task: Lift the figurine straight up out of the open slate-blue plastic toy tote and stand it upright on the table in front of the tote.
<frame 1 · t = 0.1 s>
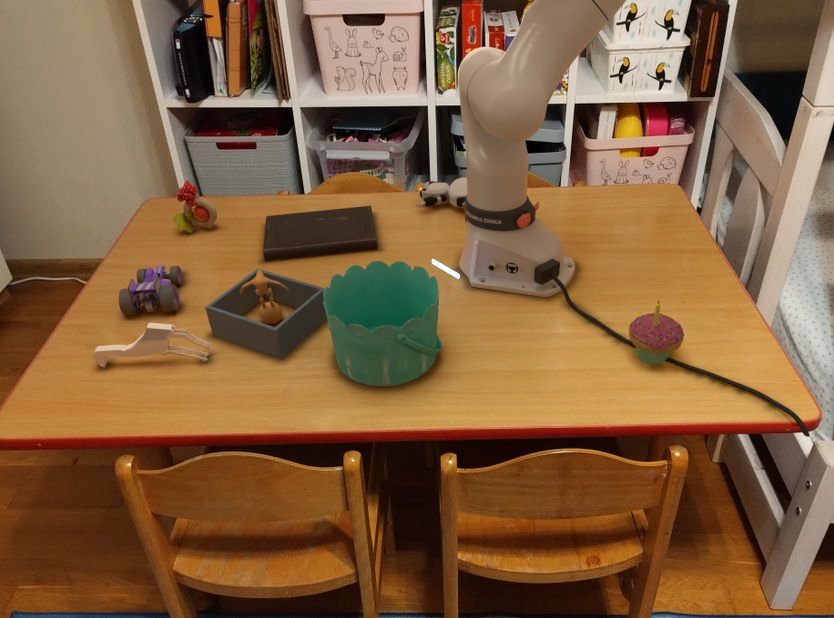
tote: (272, 325, 128), on the table
toy race car: (158, 296, 137), on the table
basket: (387, 355, 120), on the table
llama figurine: (156, 363, 121), on the table
figurine: (272, 326, 128), resting in tote
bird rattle: (200, 228, 158), on the table
cupcake: (651, 356, 117), on the table
robot toy: (452, 203, 163), on the table
hardcover book: (321, 238, 153), on the table
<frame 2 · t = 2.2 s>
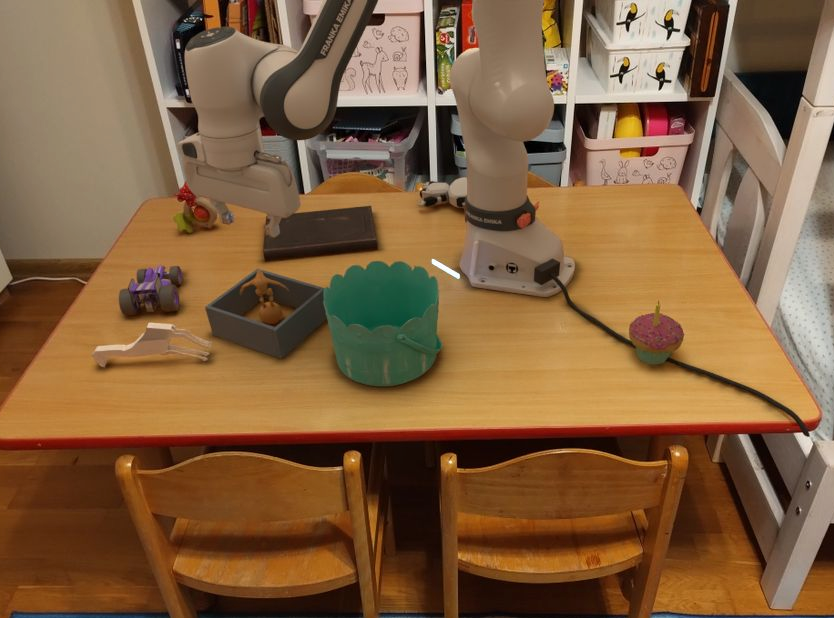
hand: (250, 228, 116), 19 cm above the table, tool pointing down, fingers open, 8 cm apart
nothing on the table moved.
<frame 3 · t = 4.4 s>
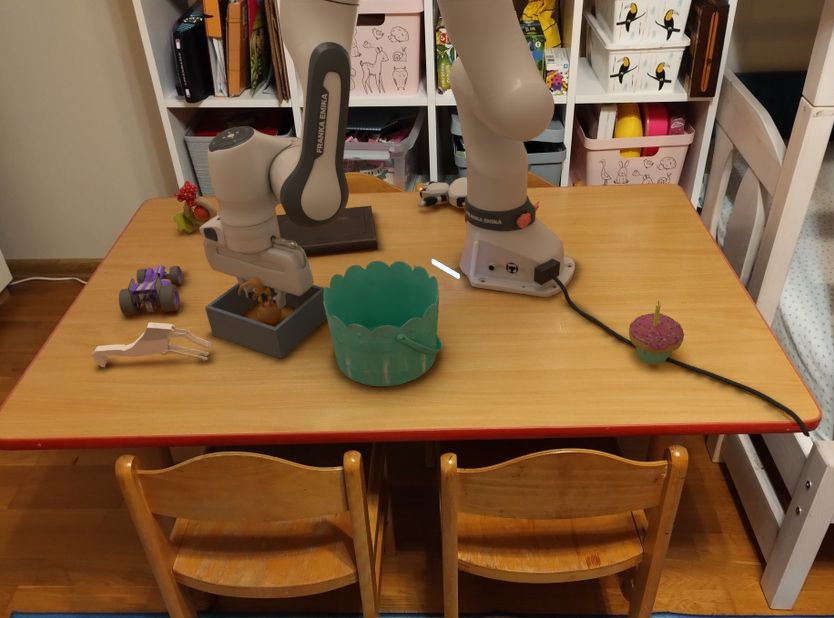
hand: (266, 301, 124), 5 cm above the table, tool pointing down, fingers closed on figurine, 4 cm apart
figurine: (272, 326, 128), resting in tote, touching gripper
everything else where it was.
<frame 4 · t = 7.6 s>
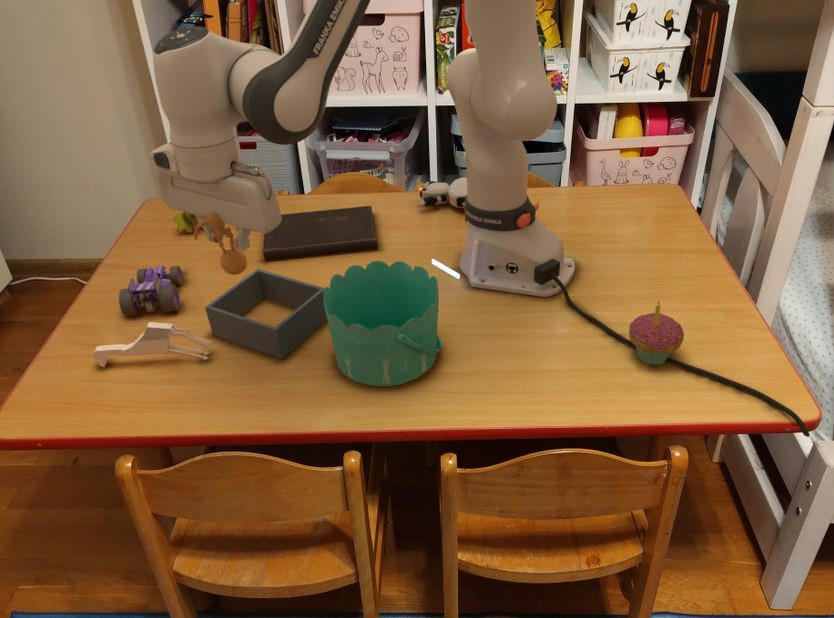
hand: (229, 244, 108), 22 cm above the table, tool pointing down, fingers closed on figurine, 4 cm apart
figurine: (237, 277, 111), point 16 cm above the table, touching gripper
everything else where it was.
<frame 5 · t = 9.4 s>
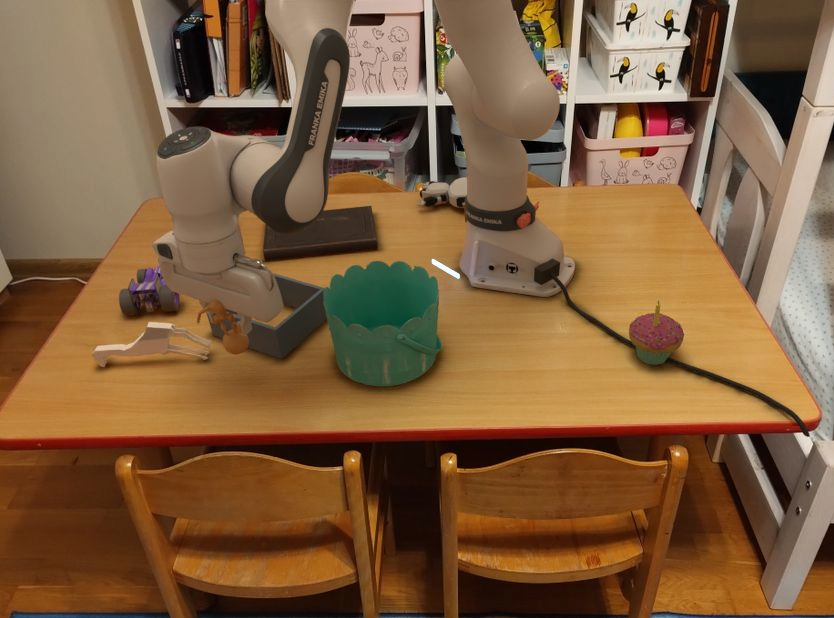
hand: (231, 326, 109), 11 cm above the table, tool pointing down, fingers closed on figurine, 4 cm apart
figurine: (239, 356, 112), point 5 cm above the table, touching gripper
everything else where it was.
when the fingers open (6 cm above the table, at t = 11.0 s): figurine stays where it is, on the table.
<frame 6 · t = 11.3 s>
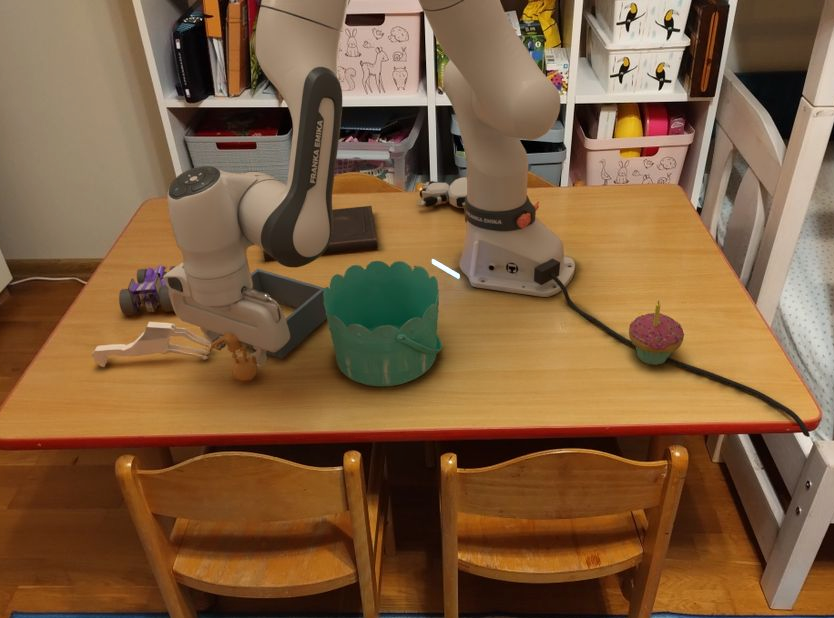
hand: (239, 354, 112), 5 cm above the table, tool pointing down, fingers open, 7 cm apart
figurine: (247, 383, 116), on the table
everything else where it was.
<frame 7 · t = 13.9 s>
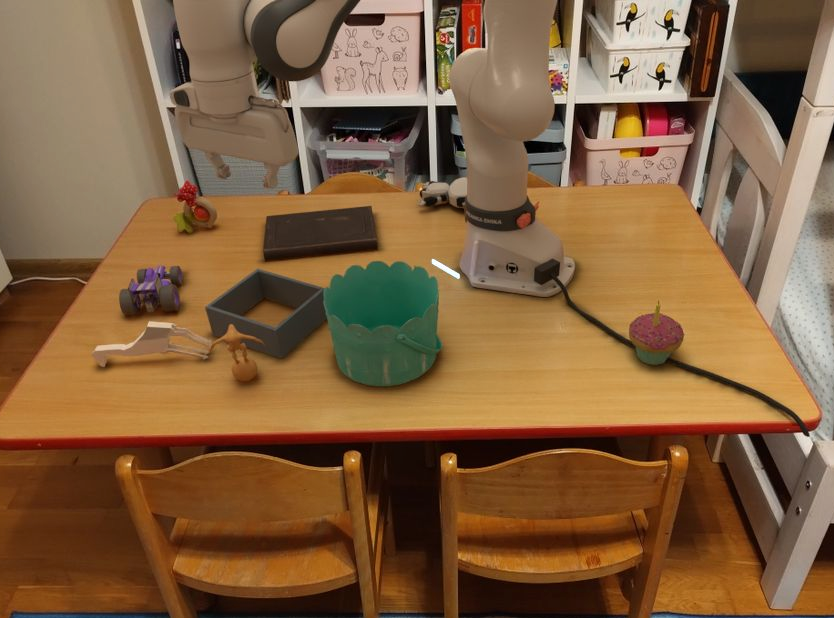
hand: (247, 181, 112), 27 cm above the table, tool pointing down, fingers open, 8 cm apart
nothing on the table moved.
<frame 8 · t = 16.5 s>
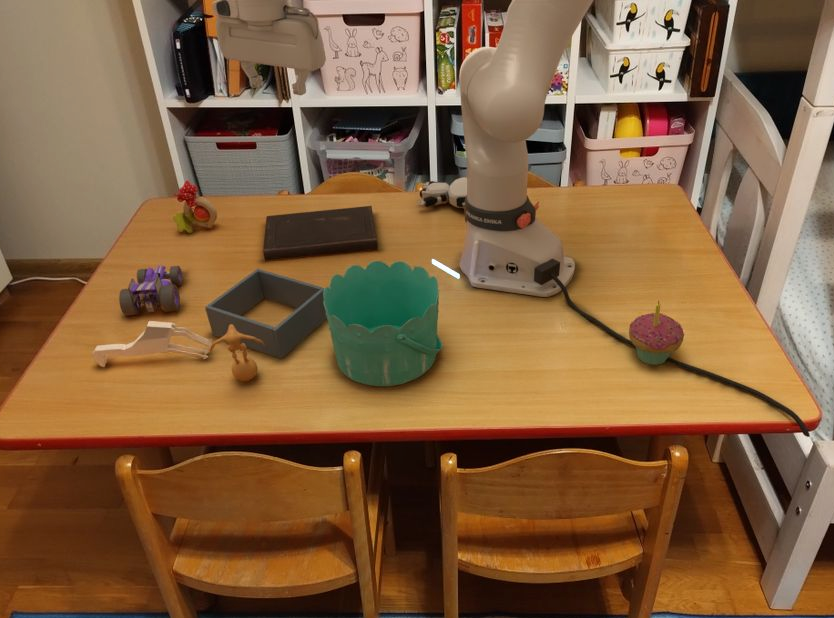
hand: (278, 90, 124), 34 cm above the table, tool pointing down, fingers open, 8 cm apart
nothing on the table moved.
at the end: figurine inside the target area (0.4 cm from its centre), on the table; figurine tilted 0°; the gripper is holding nothing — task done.
